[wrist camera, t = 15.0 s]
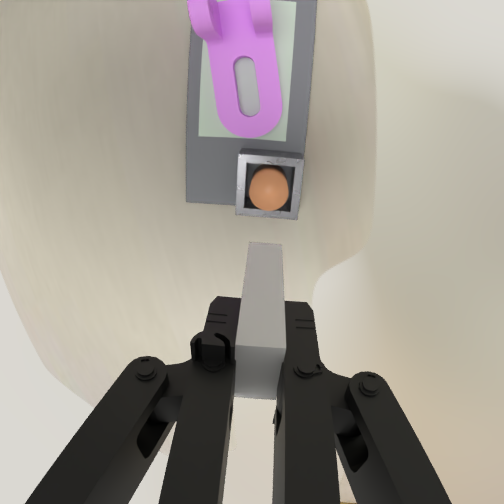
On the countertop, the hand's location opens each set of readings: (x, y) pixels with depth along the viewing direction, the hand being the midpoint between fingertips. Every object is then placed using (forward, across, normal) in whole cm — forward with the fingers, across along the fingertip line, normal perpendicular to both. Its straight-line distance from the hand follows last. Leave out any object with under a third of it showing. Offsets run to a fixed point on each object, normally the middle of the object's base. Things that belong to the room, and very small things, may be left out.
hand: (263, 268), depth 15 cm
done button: (+16, 0, 0) cm, 16 cm away
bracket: (+17, -3, +10) cm, 20 cm away
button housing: (+16, 0, 0) cm, 16 cm away
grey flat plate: (+17, -2, +7) cm, 18 cm away
